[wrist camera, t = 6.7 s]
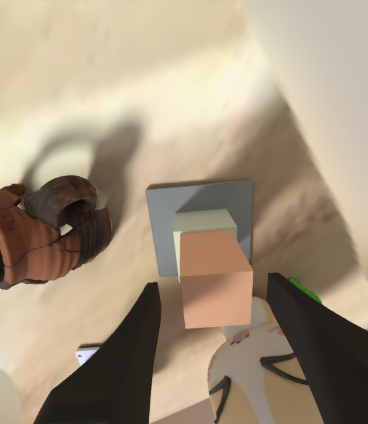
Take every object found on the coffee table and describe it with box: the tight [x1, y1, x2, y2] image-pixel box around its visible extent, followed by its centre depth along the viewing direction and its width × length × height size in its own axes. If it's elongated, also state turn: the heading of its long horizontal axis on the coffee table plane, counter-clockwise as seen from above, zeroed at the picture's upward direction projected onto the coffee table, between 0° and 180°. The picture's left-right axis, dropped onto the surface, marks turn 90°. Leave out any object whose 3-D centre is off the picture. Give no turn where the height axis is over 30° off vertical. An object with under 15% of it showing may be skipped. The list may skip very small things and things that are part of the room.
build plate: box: [145, 180, 253, 277], centre depth 20 cm, size 10×10×1 cm
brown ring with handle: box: [0, 175, 111, 290], centre depth 17 cm, size 12×10×8 cm
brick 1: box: [173, 209, 237, 283], centre depth 18 cm, size 5×5×4 cm
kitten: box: [208, 278, 324, 424], centre depth 17 cm, size 15×10×15 cm
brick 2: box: [179, 230, 253, 329], centre depth 14 cm, size 4×4×5 cm
